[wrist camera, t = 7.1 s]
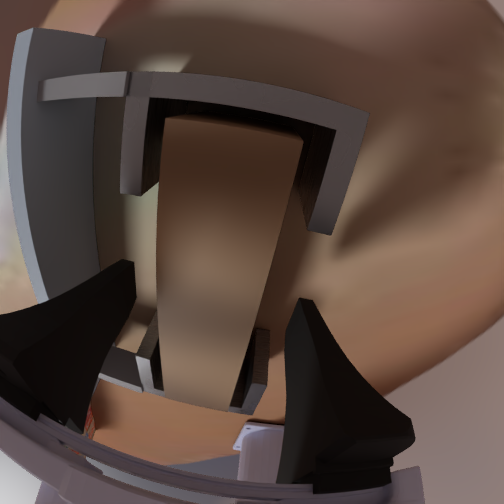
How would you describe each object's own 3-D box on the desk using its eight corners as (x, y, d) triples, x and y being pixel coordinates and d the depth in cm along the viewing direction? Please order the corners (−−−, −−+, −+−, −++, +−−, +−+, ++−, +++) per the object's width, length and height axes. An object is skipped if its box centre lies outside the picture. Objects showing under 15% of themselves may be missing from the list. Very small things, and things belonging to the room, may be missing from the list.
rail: (237, 347, 18) (227, 411, 14) (185, 336, 18) (165, 397, 14) (292, 125, 11) (303, 141, 6) (208, 110, 11) (165, 118, 6)
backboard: (161, 361, 19) (142, 415, 15) (105, 343, 19) (80, 392, 15) (183, 34, 9) (128, 3, 4) (90, 41, 8) (17, 33, 4)
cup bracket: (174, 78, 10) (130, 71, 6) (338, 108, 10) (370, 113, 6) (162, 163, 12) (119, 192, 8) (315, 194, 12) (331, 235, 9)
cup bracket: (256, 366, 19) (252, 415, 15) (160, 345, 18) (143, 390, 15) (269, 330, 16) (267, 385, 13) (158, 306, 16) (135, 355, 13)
